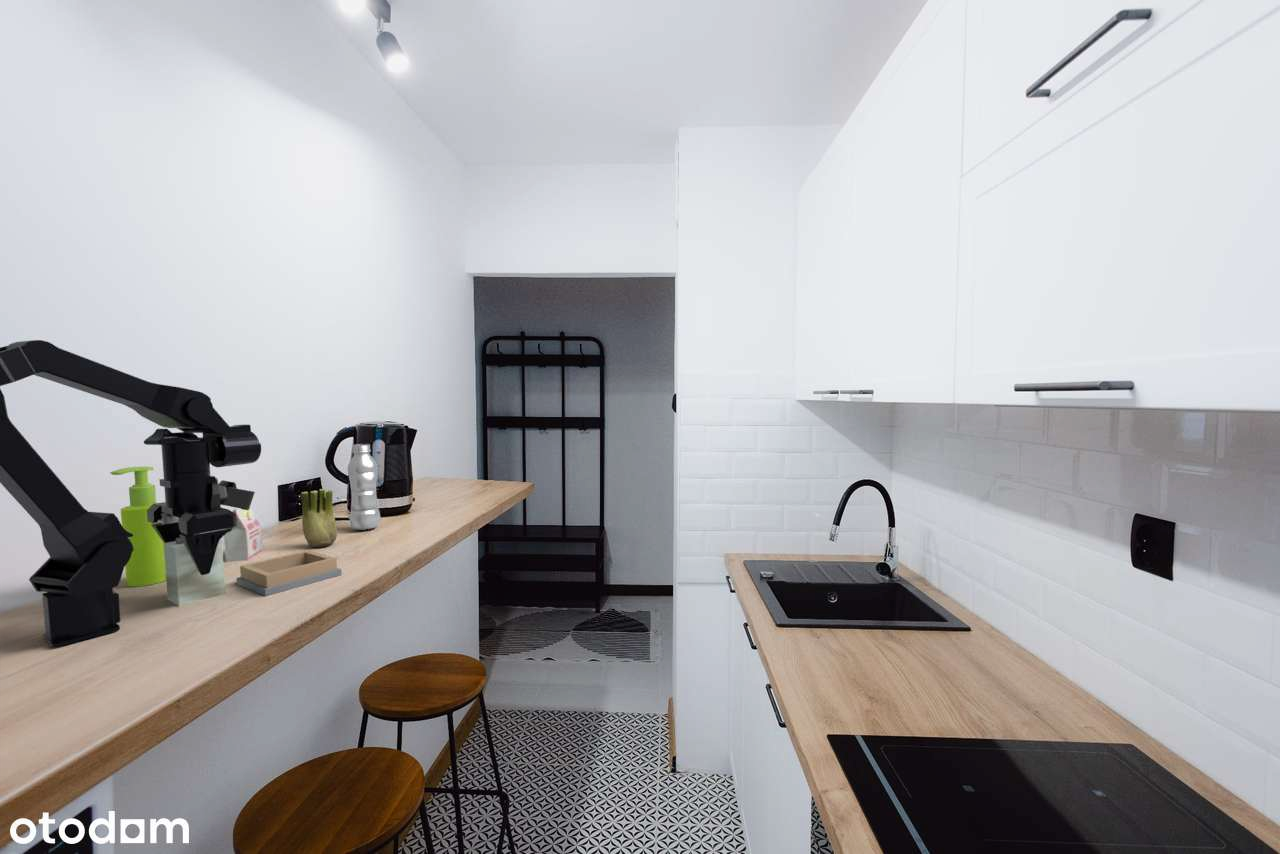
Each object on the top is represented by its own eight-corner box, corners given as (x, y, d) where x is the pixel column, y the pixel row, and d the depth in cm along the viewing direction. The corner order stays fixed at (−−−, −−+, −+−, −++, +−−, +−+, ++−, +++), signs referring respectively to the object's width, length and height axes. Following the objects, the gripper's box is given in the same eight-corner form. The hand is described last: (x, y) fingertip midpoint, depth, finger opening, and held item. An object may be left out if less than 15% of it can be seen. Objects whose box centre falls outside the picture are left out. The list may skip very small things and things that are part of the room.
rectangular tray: (265, 595, 89) (264, 577, 89) (236, 583, 96) (235, 566, 95) (341, 574, 99) (340, 557, 99) (310, 565, 105) (309, 549, 105)
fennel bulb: (300, 548, 117) (297, 491, 117) (319, 542, 122) (316, 487, 121) (324, 549, 116) (320, 492, 115) (342, 543, 121) (338, 487, 120)
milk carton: (226, 562, 109) (222, 510, 108) (241, 552, 116) (238, 504, 115) (247, 560, 110) (244, 509, 109) (261, 551, 116) (258, 502, 116)
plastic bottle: (343, 532, 130) (338, 446, 129) (362, 525, 137) (358, 443, 136) (369, 533, 129) (364, 446, 128) (387, 526, 136) (382, 443, 135)
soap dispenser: (110, 587, 95) (101, 469, 94) (156, 574, 102) (147, 464, 101) (135, 590, 94) (125, 470, 92) (179, 576, 100) (171, 464, 99)
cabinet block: (179, 606, 86) (174, 542, 85) (167, 599, 89) (163, 538, 88) (225, 593, 91) (221, 533, 90) (213, 588, 94) (209, 530, 93)
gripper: (270, 468, 90) (276, 565, 91) (223, 462, 100) (229, 549, 101) (184, 478, 81) (192, 585, 82) (142, 470, 91) (149, 565, 92)
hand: (194, 569), depth 89 cm, fingers open, 9 cm apart
